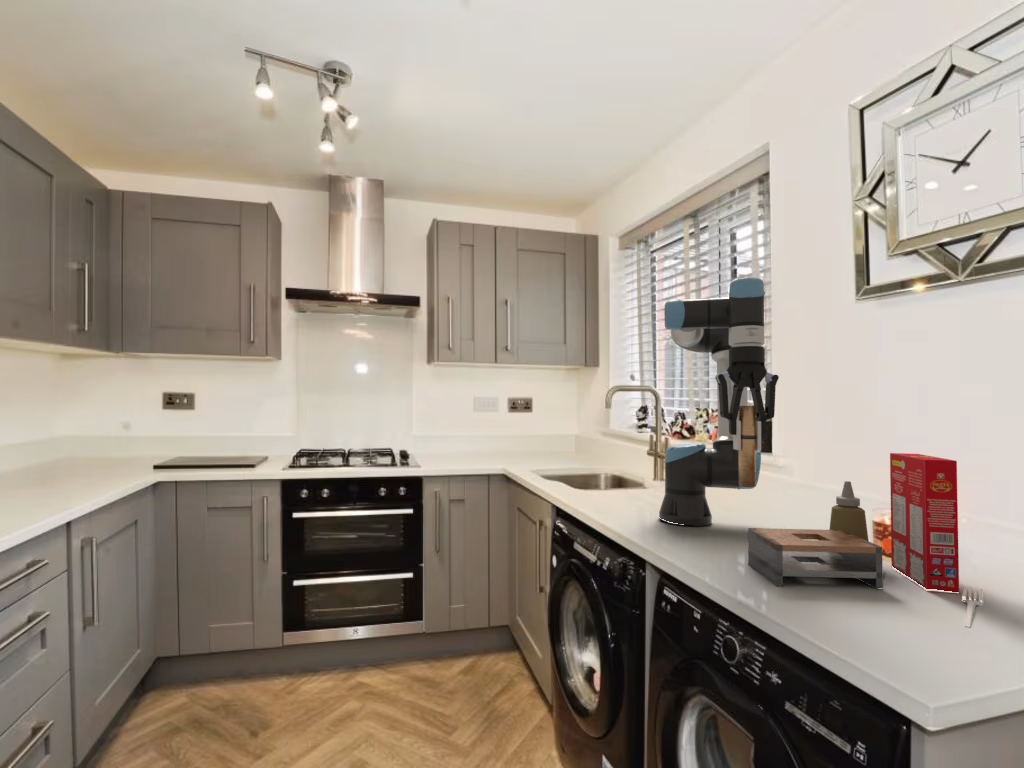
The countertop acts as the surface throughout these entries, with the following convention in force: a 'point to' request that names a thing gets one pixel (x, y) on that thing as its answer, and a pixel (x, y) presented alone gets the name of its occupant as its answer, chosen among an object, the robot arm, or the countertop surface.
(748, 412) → the wooden peg
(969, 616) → the fork
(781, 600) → the countertop surface
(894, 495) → the food packaging
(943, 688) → the countertop surface
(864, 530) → the squeeze bottle
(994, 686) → the countertop surface
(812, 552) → the frame
